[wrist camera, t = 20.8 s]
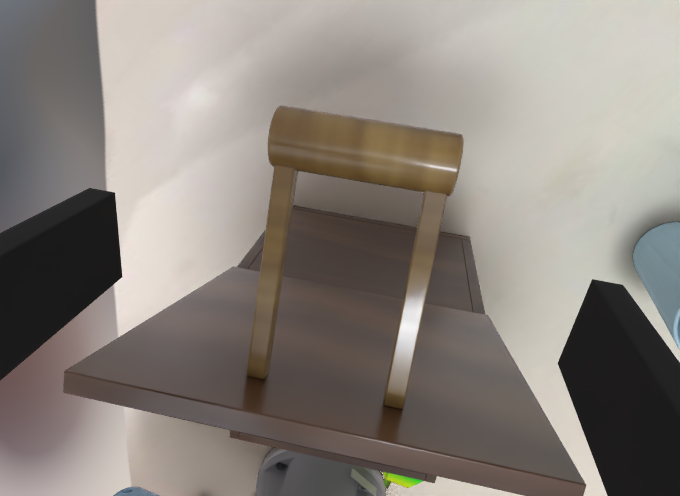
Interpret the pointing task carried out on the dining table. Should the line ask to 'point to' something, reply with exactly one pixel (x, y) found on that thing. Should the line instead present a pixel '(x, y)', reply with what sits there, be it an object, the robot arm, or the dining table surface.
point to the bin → (368, 280)
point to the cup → (662, 272)
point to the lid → (343, 339)
